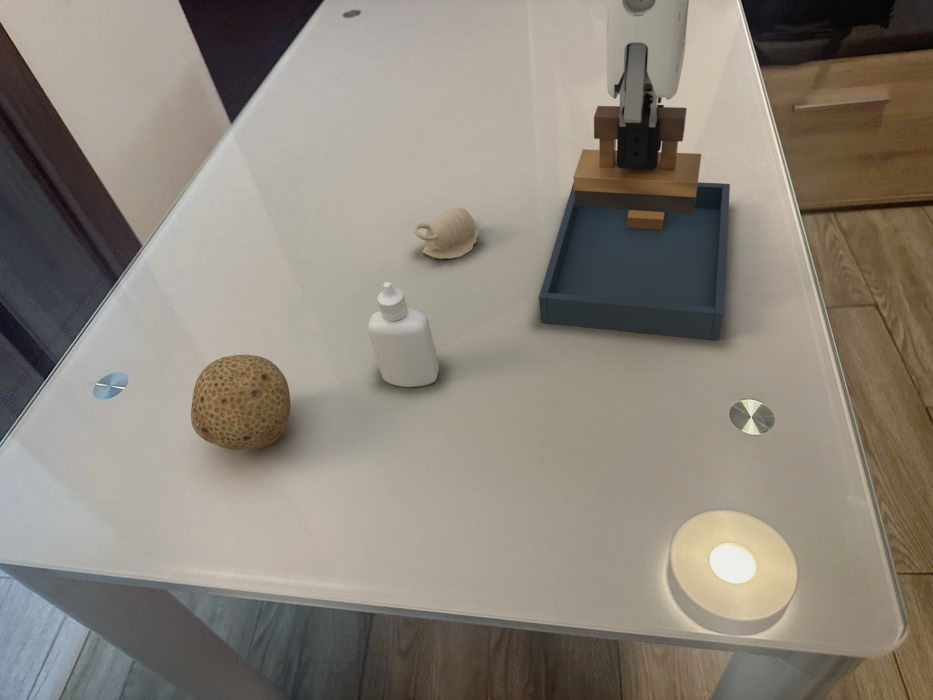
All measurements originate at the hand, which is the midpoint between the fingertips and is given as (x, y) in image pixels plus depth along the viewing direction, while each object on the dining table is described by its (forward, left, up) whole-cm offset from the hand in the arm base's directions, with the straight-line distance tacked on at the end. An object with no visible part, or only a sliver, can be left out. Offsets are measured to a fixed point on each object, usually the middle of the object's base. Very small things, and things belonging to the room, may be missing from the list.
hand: (638, 157), depth 59 cm
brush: (0, 0, -4) cm, 4 cm away
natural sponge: (+32, +21, -19) cm, 43 cm away
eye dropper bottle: (+20, +11, -19) cm, 30 cm away
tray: (0, -9, -19) cm, 21 cm away
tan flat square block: (0, -16, -18) cm, 24 cm away
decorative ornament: (+22, -9, -19) cm, 30 cm away
